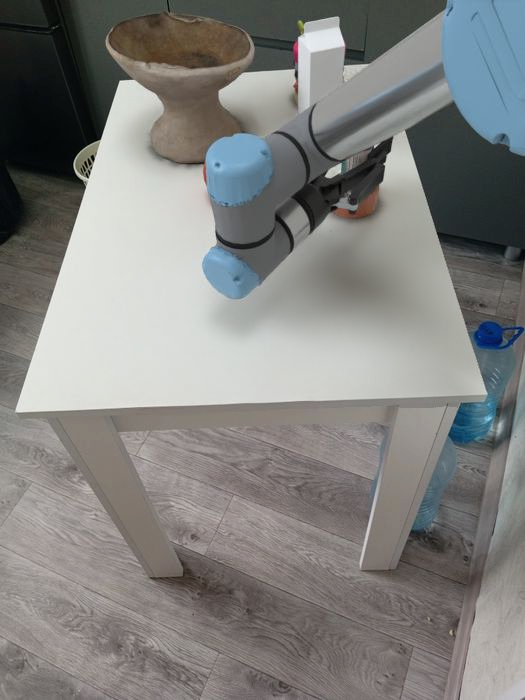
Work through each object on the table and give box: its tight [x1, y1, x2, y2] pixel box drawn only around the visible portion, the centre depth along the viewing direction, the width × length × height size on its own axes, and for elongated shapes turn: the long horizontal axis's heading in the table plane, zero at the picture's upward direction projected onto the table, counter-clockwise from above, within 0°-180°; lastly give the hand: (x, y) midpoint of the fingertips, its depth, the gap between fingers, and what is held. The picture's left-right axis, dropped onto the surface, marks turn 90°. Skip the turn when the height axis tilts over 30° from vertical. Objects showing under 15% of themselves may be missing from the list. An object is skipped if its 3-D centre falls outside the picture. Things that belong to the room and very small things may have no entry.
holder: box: [332, 172, 380, 220], centre depth 86 cm, size 8×8×4 cm
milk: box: [297, 16, 346, 116], centre depth 89 cm, size 6×6×22 cm
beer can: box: [340, 145, 375, 197], centre depth 81 cm, size 5×5×12 cm
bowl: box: [105, 10, 256, 164], centre depth 94 cm, size 26×25×20 cm
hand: (374, 137), depth 82 cm, fingers closed on beer can, 5 cm apart
